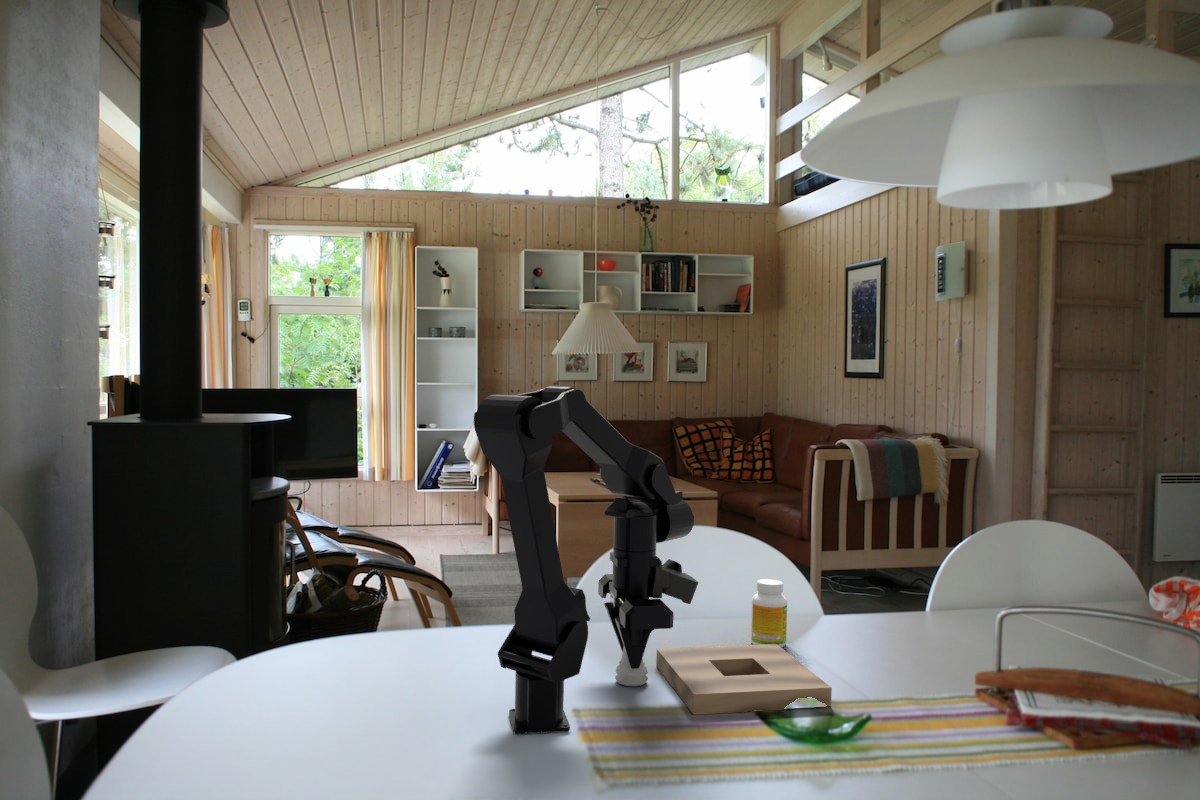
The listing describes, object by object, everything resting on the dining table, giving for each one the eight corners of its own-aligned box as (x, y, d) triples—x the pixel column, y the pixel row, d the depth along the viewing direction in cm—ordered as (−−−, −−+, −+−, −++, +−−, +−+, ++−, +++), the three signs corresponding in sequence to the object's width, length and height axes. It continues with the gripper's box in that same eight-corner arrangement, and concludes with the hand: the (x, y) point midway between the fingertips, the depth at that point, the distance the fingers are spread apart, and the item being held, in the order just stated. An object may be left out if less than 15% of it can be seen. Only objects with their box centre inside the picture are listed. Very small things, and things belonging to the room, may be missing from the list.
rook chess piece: (645, 688, 117) (646, 628, 117) (611, 685, 118) (613, 625, 118) (650, 677, 121) (651, 619, 121) (618, 674, 122) (619, 616, 122)
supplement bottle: (789, 649, 136) (790, 586, 135) (753, 648, 136) (755, 585, 135) (782, 639, 141) (784, 578, 141) (748, 638, 141) (750, 577, 141)
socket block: (831, 707, 112) (831, 687, 112) (693, 714, 109) (694, 694, 109) (776, 660, 130) (776, 643, 130) (656, 666, 127) (656, 648, 127)
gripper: (714, 561, 112) (711, 685, 112) (673, 534, 130) (671, 640, 130) (627, 563, 109) (624, 689, 110) (598, 535, 128) (596, 643, 128)
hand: (631, 663), depth 120 cm, fingers closed on rook chess piece, 3 cm apart
